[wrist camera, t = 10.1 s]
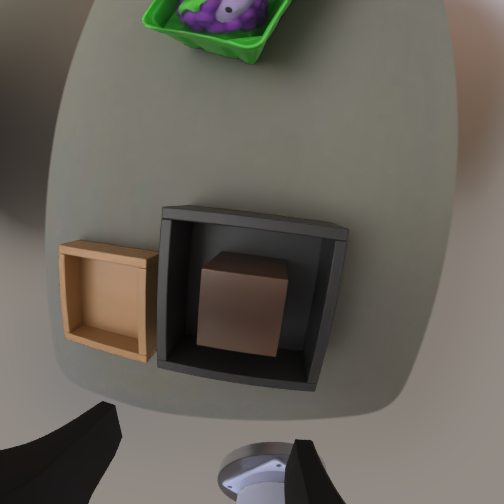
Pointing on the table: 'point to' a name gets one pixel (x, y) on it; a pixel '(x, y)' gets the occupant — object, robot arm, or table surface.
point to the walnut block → (242, 303)
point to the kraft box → (110, 297)
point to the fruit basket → (218, 24)
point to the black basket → (296, 304)
